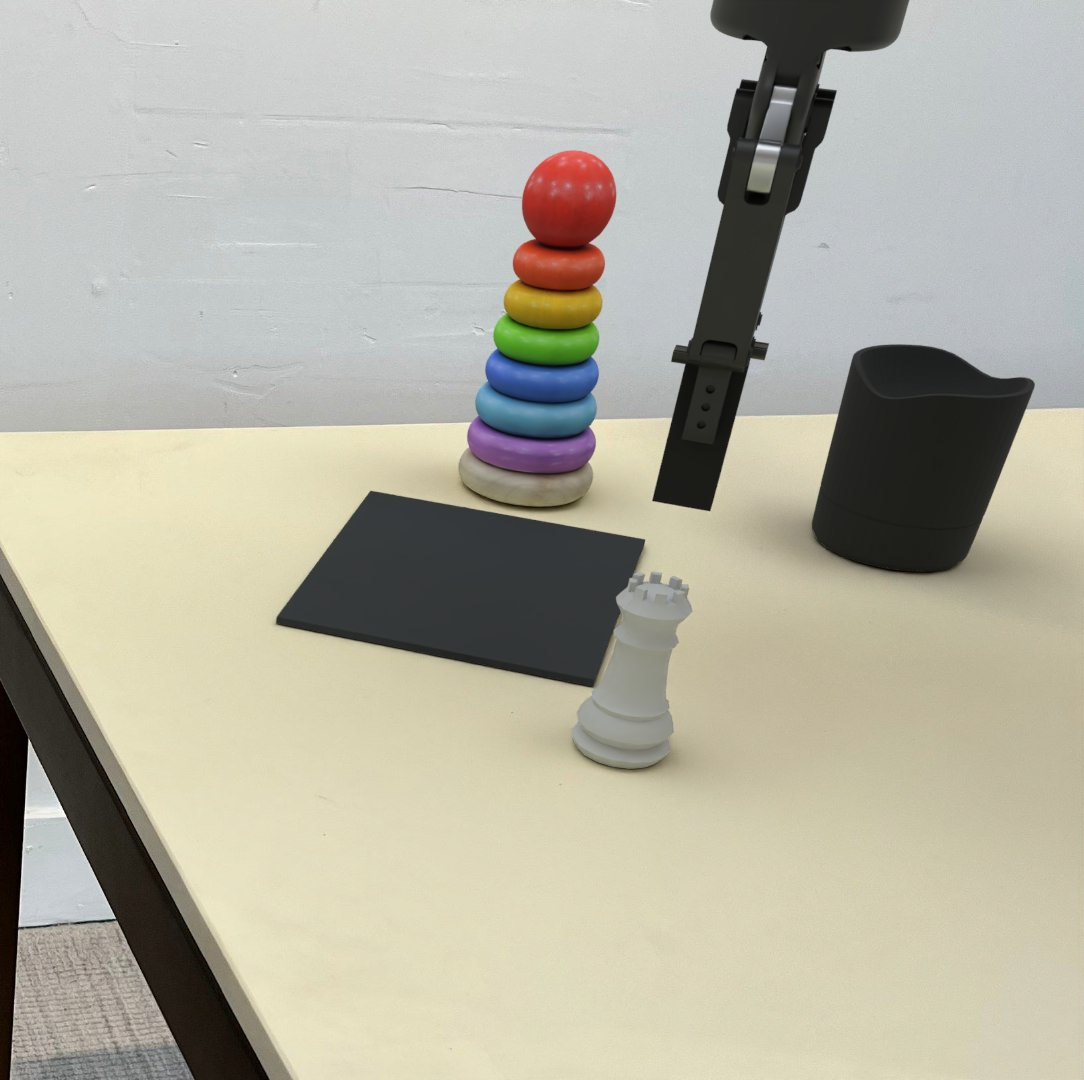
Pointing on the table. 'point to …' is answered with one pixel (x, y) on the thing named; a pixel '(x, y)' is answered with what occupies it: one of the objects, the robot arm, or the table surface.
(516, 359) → the stacking toy
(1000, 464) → the pen holder
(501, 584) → the felt mat
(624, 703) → the rook chess piece
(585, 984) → the table surface
